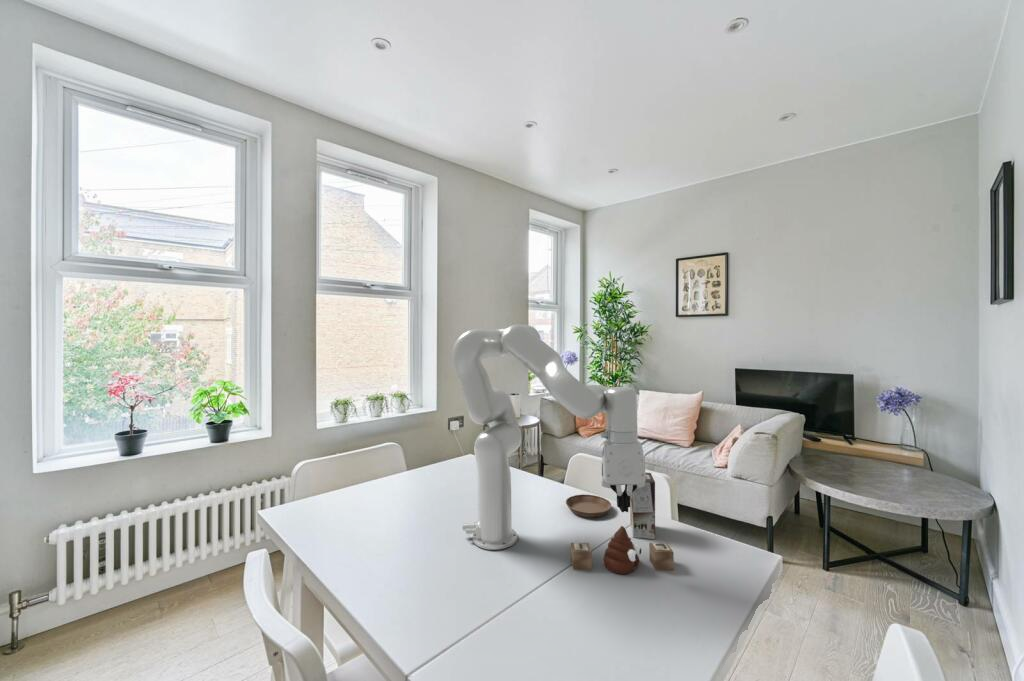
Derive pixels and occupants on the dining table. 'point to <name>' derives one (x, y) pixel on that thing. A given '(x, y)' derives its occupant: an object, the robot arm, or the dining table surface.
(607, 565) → the poop emoji
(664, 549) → the letter l block
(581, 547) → the letter i block
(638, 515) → the coffee box
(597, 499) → the saucer
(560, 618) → the dining table surface
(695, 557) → the dining table surface
